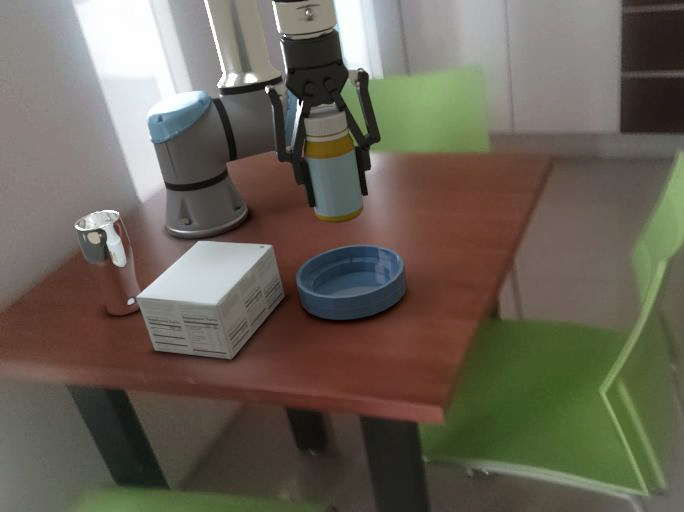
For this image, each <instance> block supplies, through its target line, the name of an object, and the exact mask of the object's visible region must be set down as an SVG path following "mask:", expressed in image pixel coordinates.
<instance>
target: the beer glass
mask: <svg viewBox="0 0 684 512" xmlns="http://www.w3.org/2000/svg"><path fill="white" fill-rule="evenodd" d="M73 226H74V229H75V232H76V236H77V240H78V243H79V246H80V250H81V253H82V255H83V257H84V260H85V262H86V264H87V265H88V268H89V269H90V271H91V272H92V274H93V276H94V277H95V279H96V280H97V282H98V284H99V286H100V288H101V290H102V292H103V296H104V300H105V306H106V311H107V313H108V314H109V315H112V316H117V317H119V316H126V315H130V314H133V313H135V312H138V311H139V310H141V309H140V307H139V304H138V301H137V299H136V297H137V296H138V295H139V294H140V293H141V292H143V291H142V289H141V287H140V285H139V282H138V279H137V274H136V265H135V259H134V253H133V248H132V244H131V240H130V237H129V235H128V231H127V229H126V227H125V225H124V223H123V220H122V218H121V215H120V213H119V212H117V211H114V210H102V211H96V212H92V213H90V214H86V215H84V216H83V217H81V218H79V219H78V220H77V221H75V222H74V225H73Z"/></svg>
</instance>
